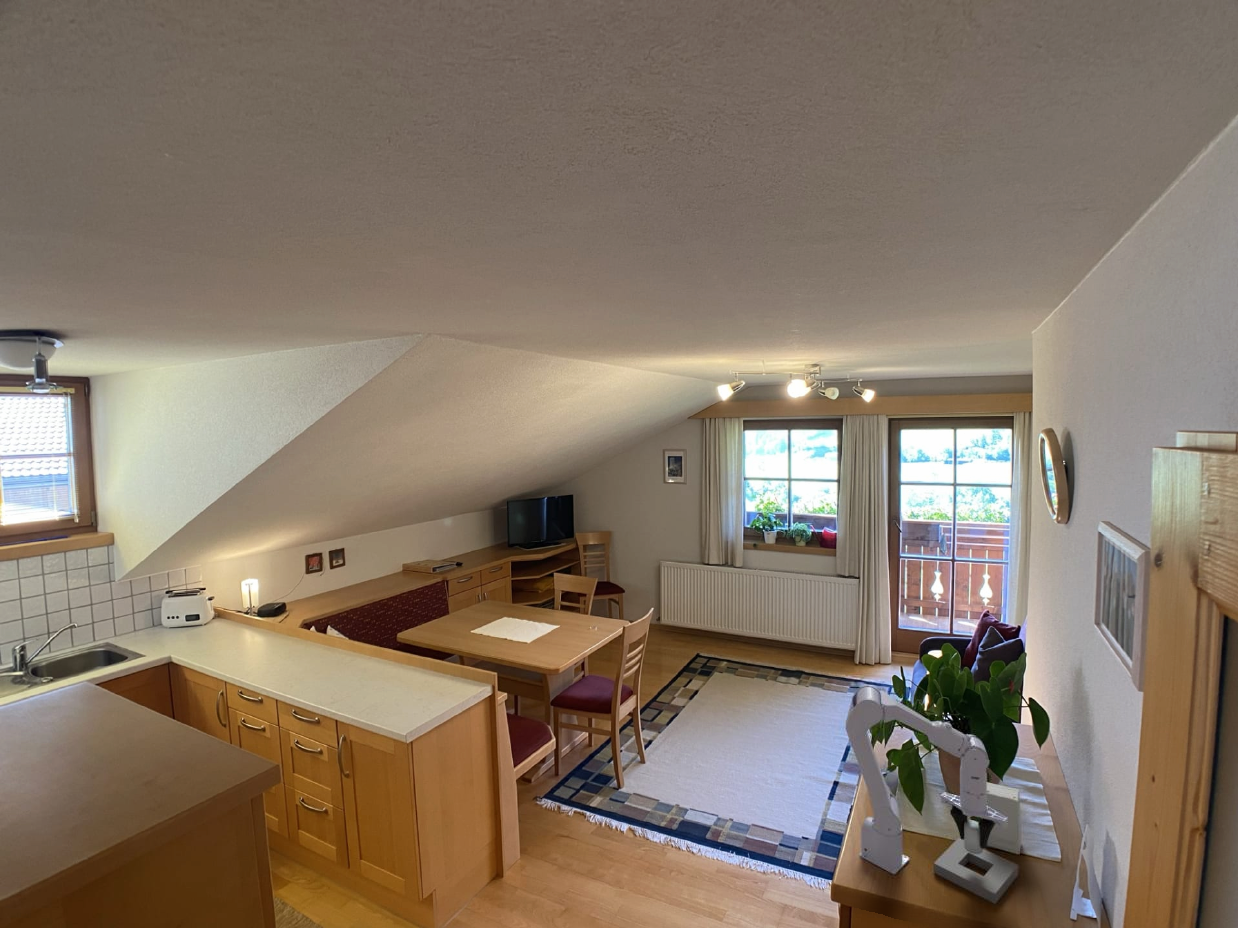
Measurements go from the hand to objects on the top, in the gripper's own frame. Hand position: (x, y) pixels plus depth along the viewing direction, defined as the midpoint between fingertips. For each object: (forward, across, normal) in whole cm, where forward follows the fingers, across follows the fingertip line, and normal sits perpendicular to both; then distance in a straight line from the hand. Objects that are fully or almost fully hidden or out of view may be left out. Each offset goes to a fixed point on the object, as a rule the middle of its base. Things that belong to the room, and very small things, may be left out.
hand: (973, 841), depth 158 cm
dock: (+9, 0, +1) cm, 9 cm away
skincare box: (+9, 0, +17) cm, 19 cm away
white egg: (+2, 0, 0) cm, 2 cm away
